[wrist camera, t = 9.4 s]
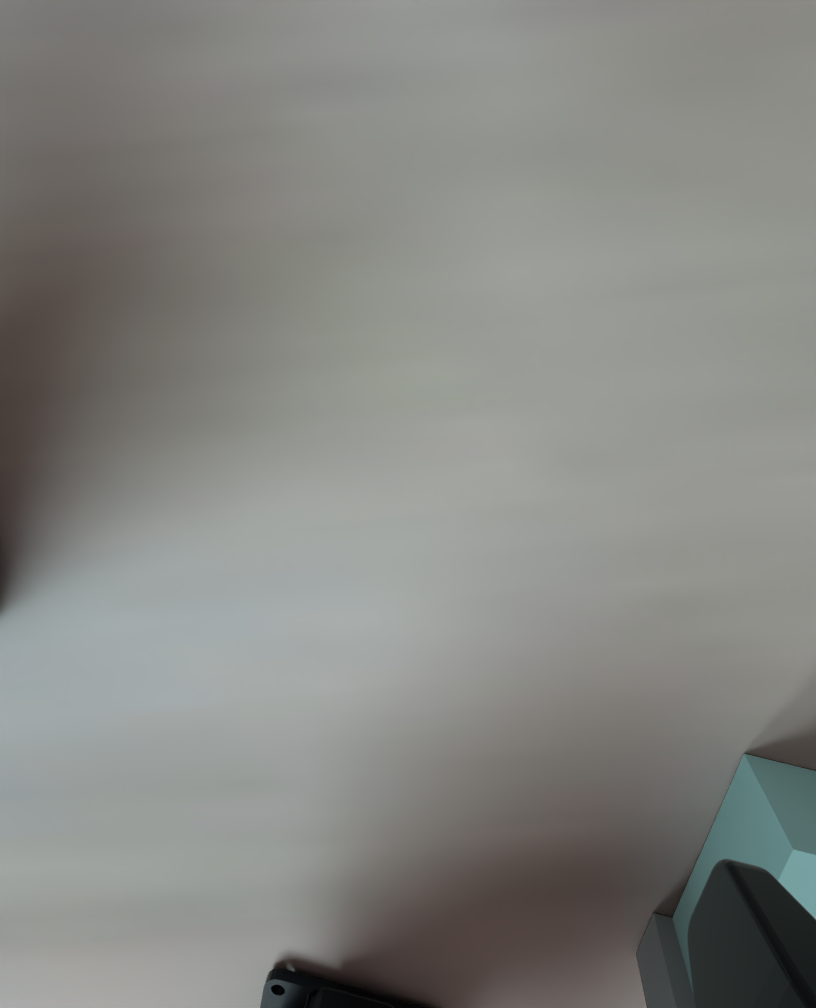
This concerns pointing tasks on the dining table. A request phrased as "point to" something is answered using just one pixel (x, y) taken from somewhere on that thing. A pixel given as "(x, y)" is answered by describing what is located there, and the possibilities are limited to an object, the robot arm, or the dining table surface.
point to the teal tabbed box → (745, 838)
